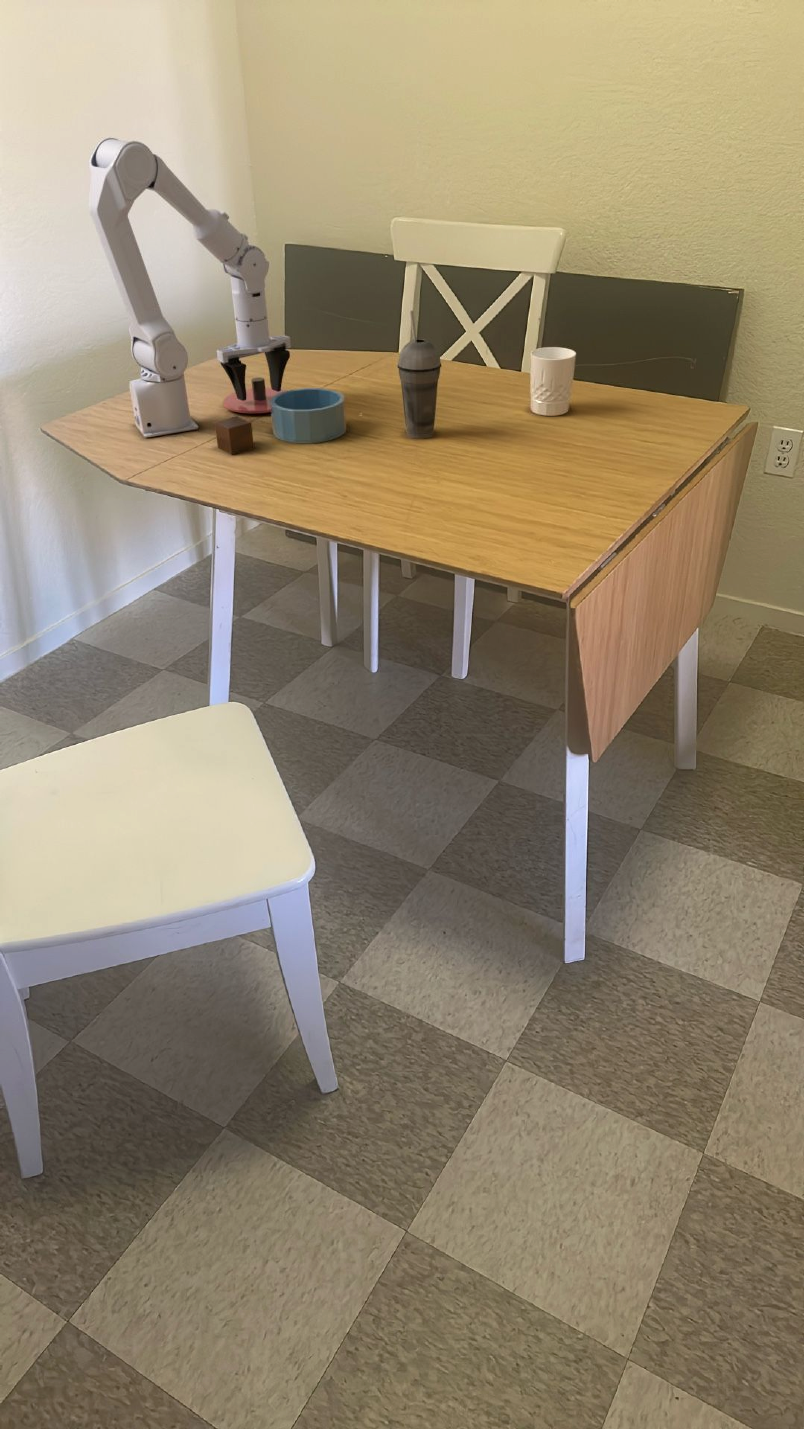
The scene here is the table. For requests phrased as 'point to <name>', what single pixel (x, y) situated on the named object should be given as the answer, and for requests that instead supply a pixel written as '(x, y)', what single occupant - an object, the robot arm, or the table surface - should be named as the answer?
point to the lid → (252, 398)
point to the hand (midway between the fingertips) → (259, 394)
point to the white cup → (551, 380)
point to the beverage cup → (419, 385)
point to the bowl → (308, 415)
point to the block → (234, 435)
